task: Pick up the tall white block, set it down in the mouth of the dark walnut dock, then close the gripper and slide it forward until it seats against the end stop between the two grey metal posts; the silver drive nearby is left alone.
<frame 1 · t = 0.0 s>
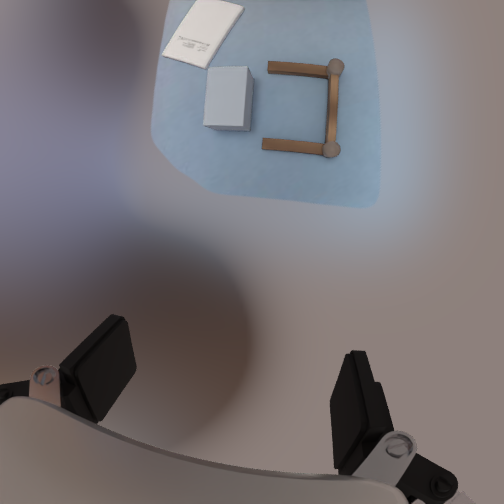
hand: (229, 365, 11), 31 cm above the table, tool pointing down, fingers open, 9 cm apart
external hard drive: (204, 32, 33), on the table
tall white block: (234, 104, 36), on the table
walnut dock: (298, 107, 35), on the table
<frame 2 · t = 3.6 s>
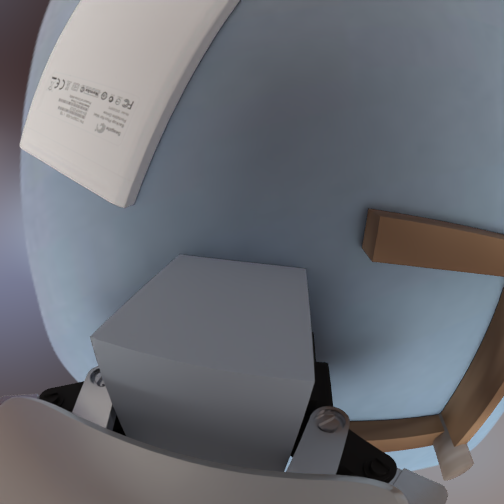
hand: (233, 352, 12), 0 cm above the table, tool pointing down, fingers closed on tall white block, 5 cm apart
external hard drive: (130, 49, 9), on the table
tall white block: (236, 344, 12), on the table, touching gripper
walnut dock: (421, 356, 11), on the table
when the fingers open (2 cm above the table, at t = 7.6 s): tall white block drops 1 cm, on the table.
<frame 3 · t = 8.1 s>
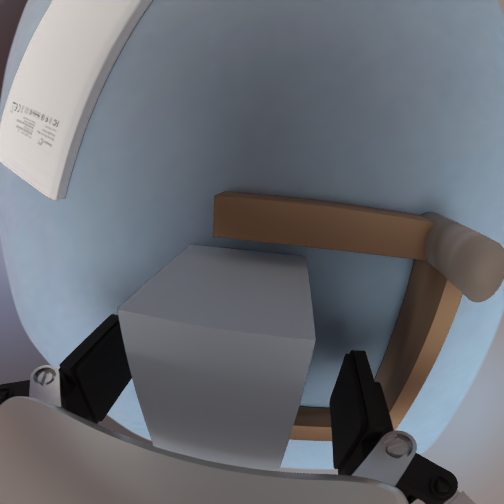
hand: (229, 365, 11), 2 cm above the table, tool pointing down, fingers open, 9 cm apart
external hard drive: (66, 76, 11), on the table
tall white block: (242, 328, 13), on the table
walnut dock: (312, 340, 13), on the table
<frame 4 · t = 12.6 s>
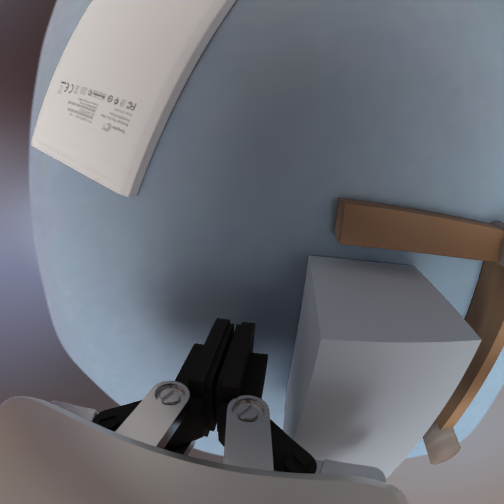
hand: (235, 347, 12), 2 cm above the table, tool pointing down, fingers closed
external hard drive: (132, 56, 11), on the table
tall white block: (346, 337, 13), on the table, touching gripper
walnut dock: (400, 338, 12), on the table
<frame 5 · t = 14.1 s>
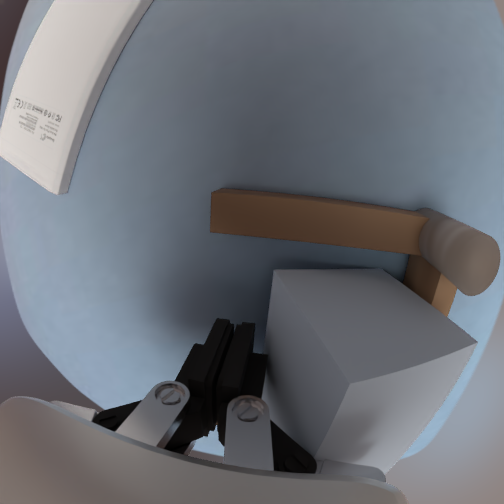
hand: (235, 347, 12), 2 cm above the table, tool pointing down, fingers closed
external hard drive: (69, 72, 11), on the table
tall white block: (314, 348, 12), point 1 cm above the table, tilted 19°
walnut dock: (309, 335, 13), on the table
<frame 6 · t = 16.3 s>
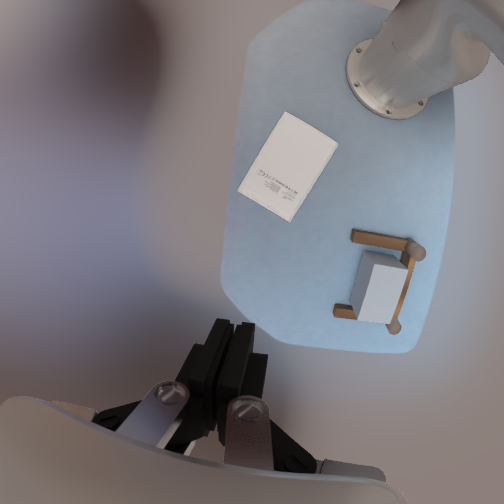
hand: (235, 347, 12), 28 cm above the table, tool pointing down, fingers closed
external hard drive: (287, 166, 36), on the table
tall white block: (371, 278, 39), on the table
walnut dock: (371, 277, 39), on the table
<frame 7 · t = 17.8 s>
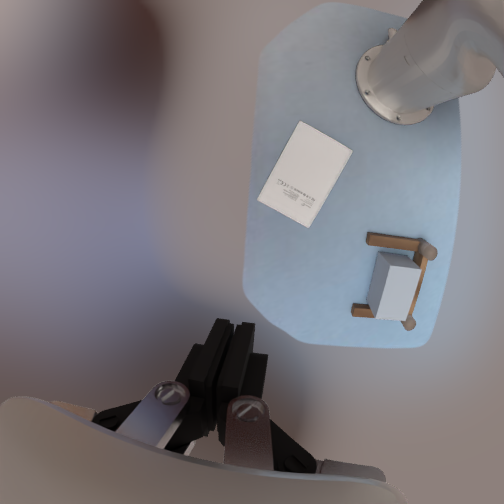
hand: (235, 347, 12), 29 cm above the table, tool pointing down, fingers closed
external hard drive: (304, 174, 38), on the table
tall white block: (386, 277, 40), on the table
walnut dock: (386, 276, 40), on the table
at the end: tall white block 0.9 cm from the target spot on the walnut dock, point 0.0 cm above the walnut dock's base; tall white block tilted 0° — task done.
